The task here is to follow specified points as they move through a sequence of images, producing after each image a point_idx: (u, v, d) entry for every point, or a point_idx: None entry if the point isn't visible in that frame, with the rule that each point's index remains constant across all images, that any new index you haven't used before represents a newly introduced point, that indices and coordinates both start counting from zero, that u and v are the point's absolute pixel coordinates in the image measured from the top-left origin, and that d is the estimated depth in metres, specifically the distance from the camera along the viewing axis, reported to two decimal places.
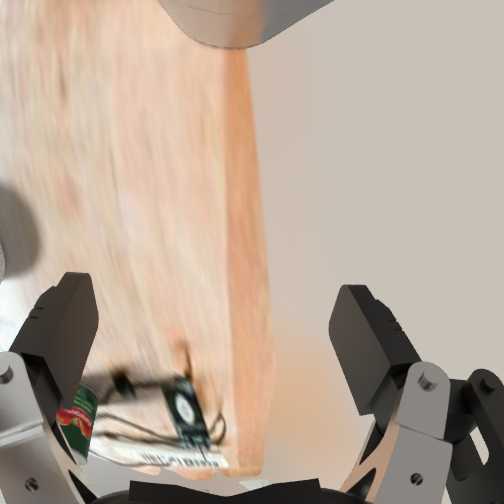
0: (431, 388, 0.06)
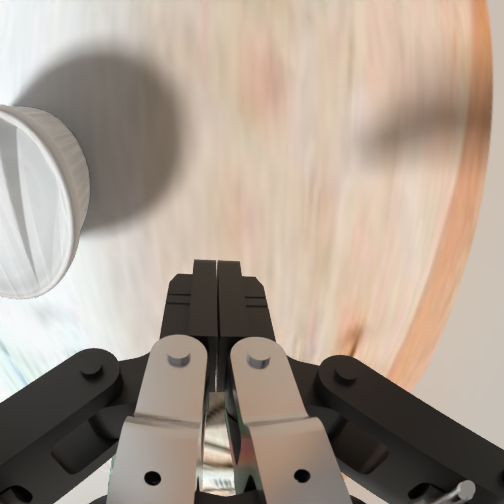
0: (256, 365, 0.06)
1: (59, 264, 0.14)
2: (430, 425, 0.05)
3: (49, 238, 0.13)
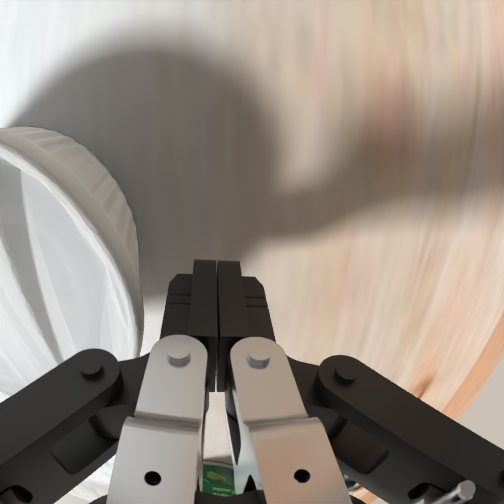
0: (256, 365, 0.06)
1: None
2: (429, 425, 0.05)
3: (93, 346, 0.09)
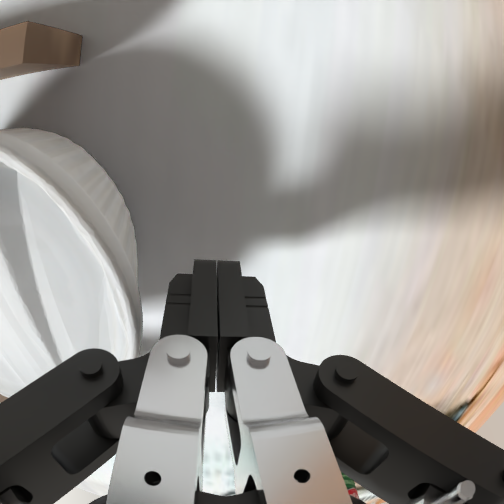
0: (256, 365, 0.06)
1: None
2: (430, 425, 0.05)
3: None
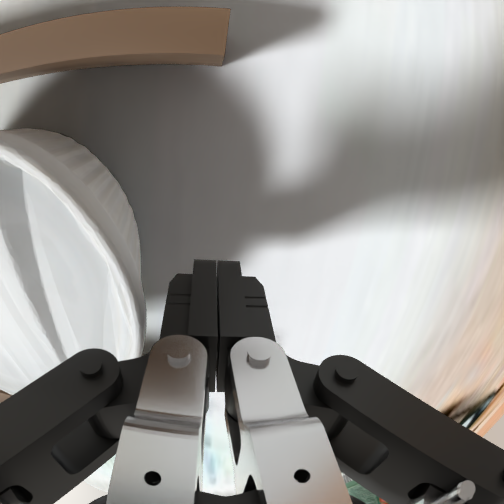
0: (255, 365, 0.06)
1: None
2: (429, 425, 0.05)
3: (96, 344, 0.09)
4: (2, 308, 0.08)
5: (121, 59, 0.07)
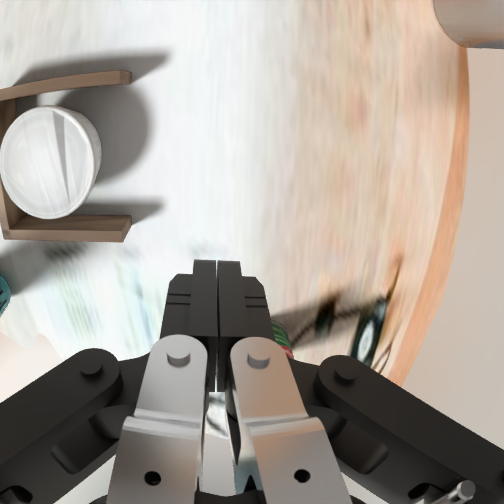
0: (256, 365, 0.06)
1: (84, 191, 0.26)
2: (429, 425, 0.05)
3: (79, 176, 0.25)
4: (48, 164, 0.24)
5: (95, 85, 0.23)
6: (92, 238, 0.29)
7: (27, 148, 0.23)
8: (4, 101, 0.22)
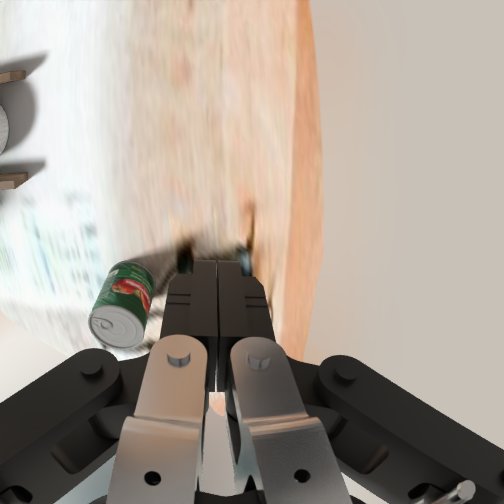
0: (256, 365, 0.06)
1: None
2: (429, 425, 0.05)
3: None
4: None
5: None
6: None
7: None
8: None
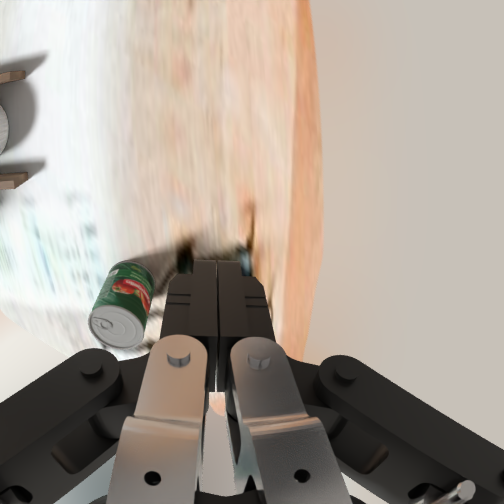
0: (255, 365, 0.06)
1: None
2: (429, 425, 0.05)
3: None
4: None
5: (0, 83, 0.27)
6: None
7: None
8: None
